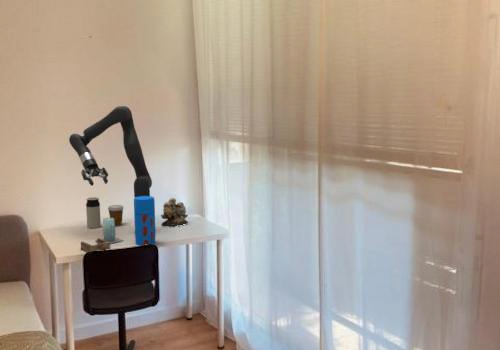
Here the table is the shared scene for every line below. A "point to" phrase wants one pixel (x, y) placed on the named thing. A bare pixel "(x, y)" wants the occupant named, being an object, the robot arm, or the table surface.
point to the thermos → (144, 220)
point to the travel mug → (93, 212)
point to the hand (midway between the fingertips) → (99, 183)
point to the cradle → (99, 246)
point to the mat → (115, 240)
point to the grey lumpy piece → (174, 213)
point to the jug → (109, 229)
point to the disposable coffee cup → (116, 214)
